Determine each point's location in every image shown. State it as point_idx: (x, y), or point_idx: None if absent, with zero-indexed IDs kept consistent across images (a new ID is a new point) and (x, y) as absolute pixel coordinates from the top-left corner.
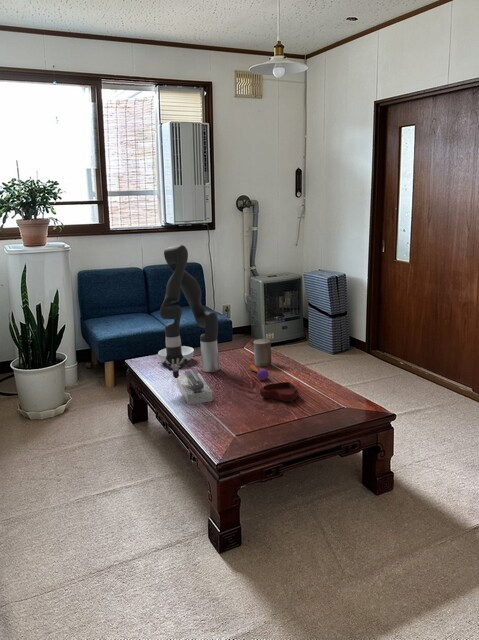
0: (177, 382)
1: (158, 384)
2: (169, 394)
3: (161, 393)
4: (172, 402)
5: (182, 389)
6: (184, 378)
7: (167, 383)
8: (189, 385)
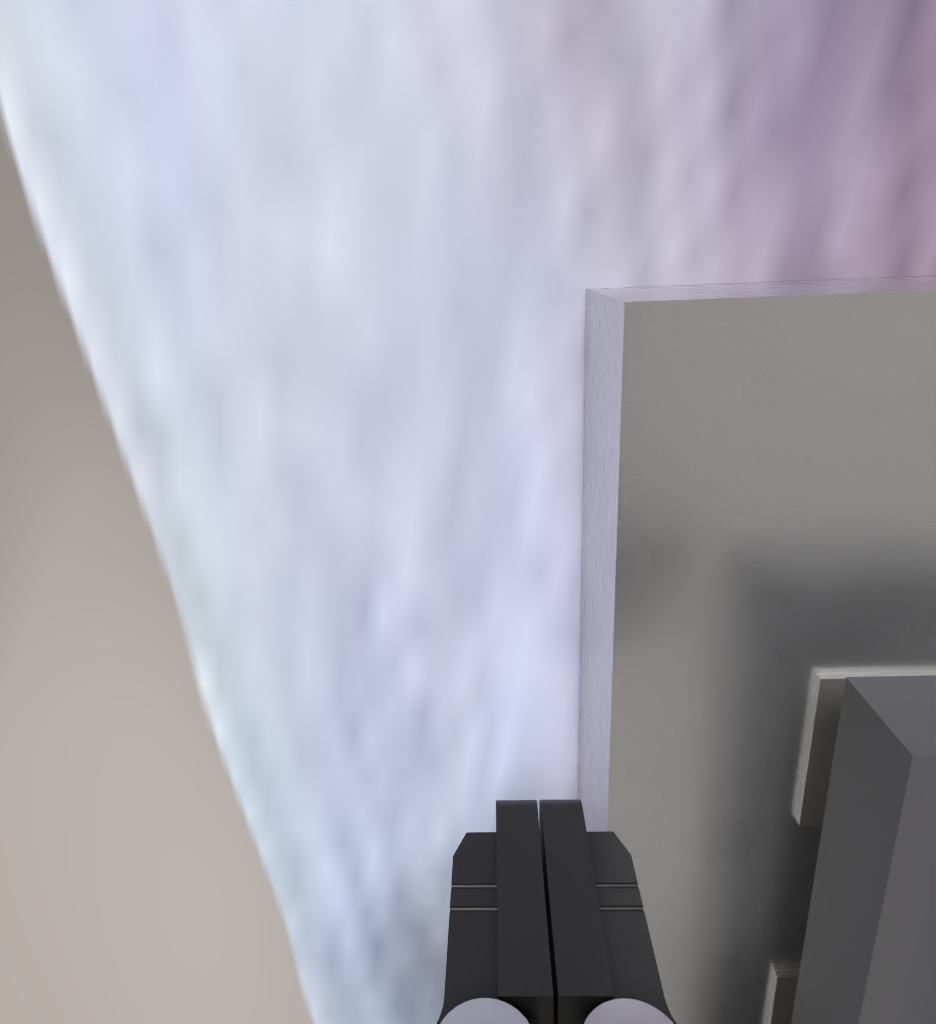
0: (597, 373)
1: (165, 38)
2: (370, 704)
3: (234, 613)
4: (385, 981)
5: None
6: (786, 578)
7: (387, 51)
8: (749, 997)
